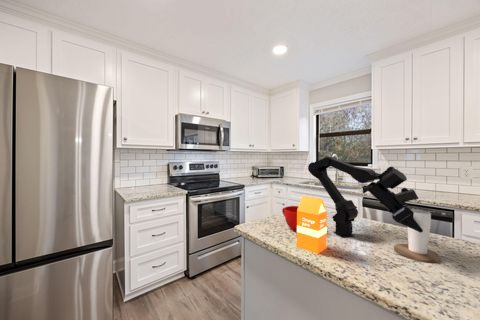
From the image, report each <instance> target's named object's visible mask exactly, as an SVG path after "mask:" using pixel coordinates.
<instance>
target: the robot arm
mask: <svg viewBox="0 0 480 320" xmlns="http://www.w3.org/2000/svg"><path fill="white" fill-rule="evenodd" d="M330 167H331V168H333V169H335V170H338V171H341V172H343V173H345V174H348V175H349V176H350V177H351V178H352V179H354V180H355V181H356V182H358V183H360V184H364V185H362V194H366V193H367V192H368V193H370V194H371V196H373V197H374V198H375V199H376V200H377V201H378V202H379V204H380V205H382V206H384V208H386V209H387V211H388V212H389V213H390V214H391V218H392V220H394V221H395V222H396V223H398V224H400V225H403V226H405V227H406V228H407V227H409V228H412V229H414V230H416V231H418V232H423V230H422V228H421V227H420V226H419V225H418V223H417V222H416V221H415V220H414V218H413V215H414V212H413V211H412V210H411V209H412V208H410V207H409V205H408V204H407V202H410V201H417V200H418V199H419V196H418V195H417V193H416V191H415V189H411V188H409V189H408V188H407V187H403V188H401V189H400V192H396V193H395V192H394V191H391V190H392V189H395V188H396V187H399V186H400V185H401V184H403V183H405V181H408V180H407V177H406V175H405V174H404V172H401V171H400V170H399V169H396V167H394V166H389V167H387V168H386V169H385V171H383V172H382V173H379V172H376V171H375V170H374V169H372V168H366V167H360V166H355V165H354V164H351V163H348V162H345V161H342V160H340V159H338V158H334V157H333V156H325V157H323V158H322V159H319V160H316V161H314V162H313V161H312V162H310V163H309V164H308V166H307V170H308V172H309V174H310V175H312V176H313V177H315V178H316V179H317V180H318V182H320V183H321V185H322V186H323V188H324V189H325V192H326V193H327V194H328V196H329V197H330V199H331V200H332V201H333V203H334V207H335V211H336V213H335V214H334V215H332V219H333V220H332V221H333V222H334V223H335V230H334V231H332V233H334V234H335V235H337V236H339V237H340V238H349V237H350V238H351V237H355V235H354V234H353V222H354V221H355V219H356V218H357V217H358V215H359V211H358V206H356V205H355V204H354V202H353V200H351V199H350V200H347V199H346V198H344V196H343V194H342V193H341V192H340V190H339V189H338V188H337V186H336V184H335V183H334V182H333V180H332V179H331V177H330V176H329V175H328V168H330ZM375 181H376V182H375ZM368 183H369V184H368ZM365 184H367V185H365ZM390 189H391V190H390Z"/></svg>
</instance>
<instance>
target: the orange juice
mask: <svg viewBox="0 0 480 320" xmlns="http://www.w3.org/2000/svg"><path fill="white" fill-rule="evenodd" d="M298 206H299V207H298V210H297V231H296V247H297V248H300V249H302V250H305V251H308V252H311V253H314V254H316V255H319V254H320V253H321V252H323V251H324V250H326V249H327V233H328V232H327V230H328V229H327V228H328V225H327V223H328V222H327V220H328V218H327V217H328V212H327V209H326V205H325V202H324V200H323V198H321V197H315V196H307V195H301V199H300V201H299V205H298Z"/></svg>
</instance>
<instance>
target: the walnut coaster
mask: <svg viewBox="0 0 480 320" xmlns="http://www.w3.org/2000/svg"><path fill="white" fill-rule="evenodd" d="M393 251H394V252H395V253H397V254H398V255H400V256H401V257H404V258H406V259H409V260H413V261H417V262H420V263H427V264H429V263H430V264H434V263H439V262H440V261H441V256H440V254H438V253H437V252H435V251H434V250H431V249H428V252H427V254H425V255H422V254H416V253H413V252H411V251H410V250H409V249H408V243H397V244H394V245H393Z"/></svg>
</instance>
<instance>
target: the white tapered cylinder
mask: <svg viewBox="0 0 480 320" xmlns="http://www.w3.org/2000/svg"><path fill="white" fill-rule="evenodd" d="M410 209H411V210H412V211H413V212H414V215H413V218H414V220H415V221H416V222H417V223H418V225H419V226H420V227H421V228H422V230H423V232H418V231H416V230H414V229H412V228H409V227H407V226H406V232H407V240H408V241H407V242H408V243H407V244H408V249H409V250H410V251H411V252H413V253H416V254H422V255H425V254H427V252H428V247H429V240H430V234H431V233H430V232H431V224H432V214H431V212H430V211H426V210H421V209H412V208H410Z"/></svg>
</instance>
